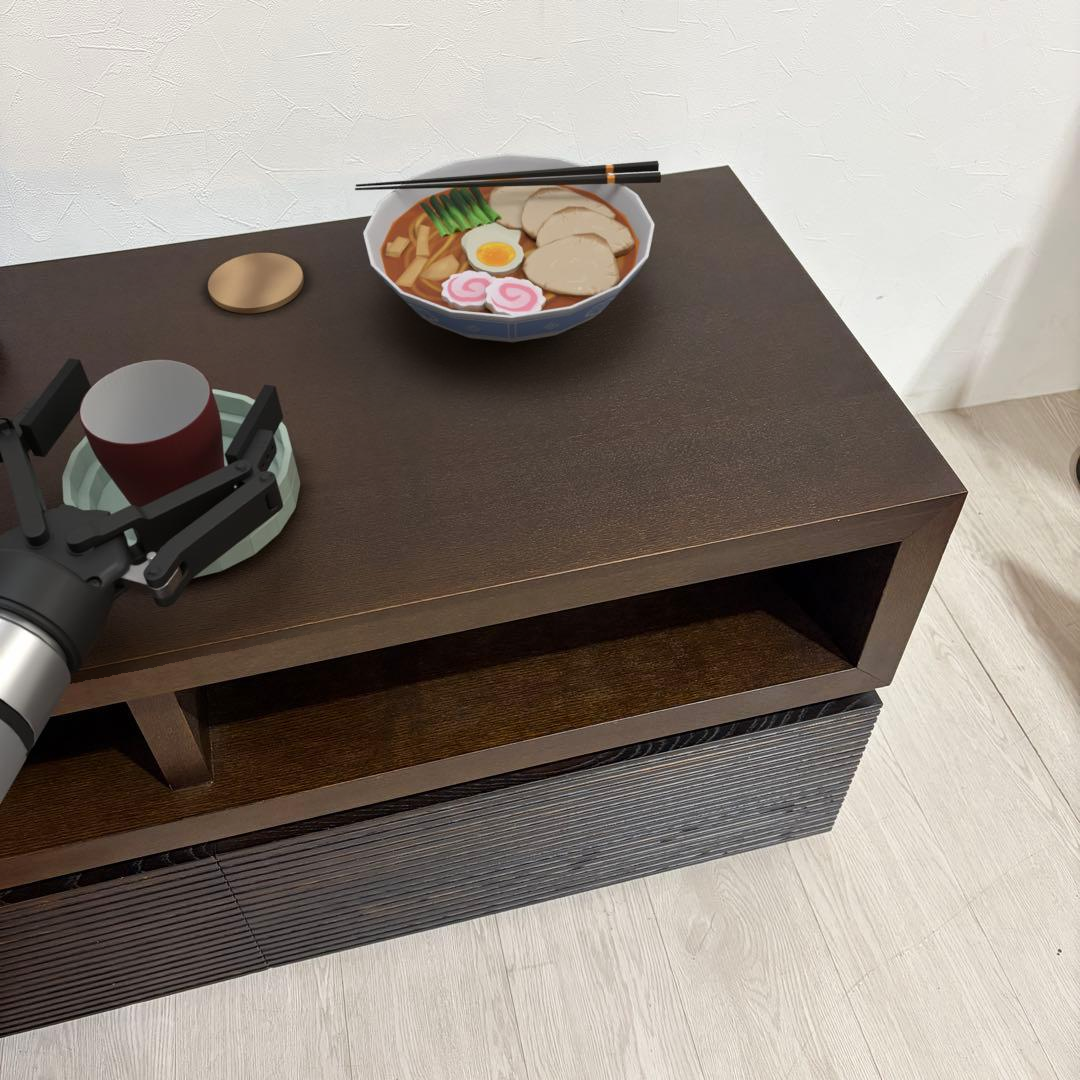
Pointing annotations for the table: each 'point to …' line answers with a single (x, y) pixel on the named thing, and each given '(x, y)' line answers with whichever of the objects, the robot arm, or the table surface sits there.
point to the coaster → (255, 283)
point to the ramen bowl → (511, 242)
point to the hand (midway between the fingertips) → (176, 387)
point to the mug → (153, 428)
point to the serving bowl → (99, 492)
